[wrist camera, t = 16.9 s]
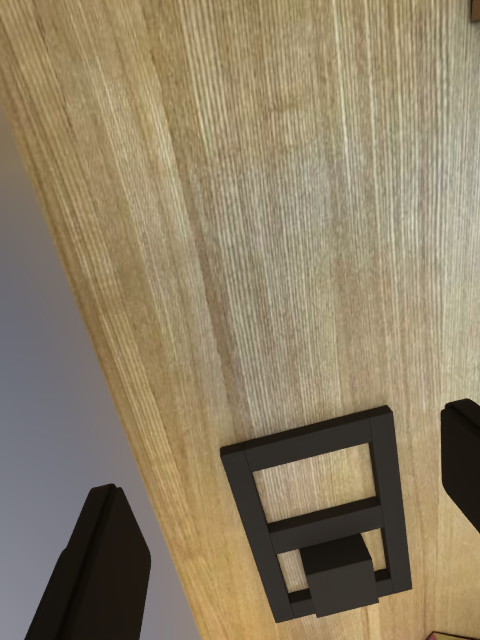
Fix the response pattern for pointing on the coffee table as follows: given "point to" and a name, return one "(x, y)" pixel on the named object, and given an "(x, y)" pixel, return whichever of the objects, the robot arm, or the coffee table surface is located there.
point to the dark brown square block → (339, 575)
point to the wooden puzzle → (476, 10)
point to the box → (443, 637)
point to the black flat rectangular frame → (325, 523)
